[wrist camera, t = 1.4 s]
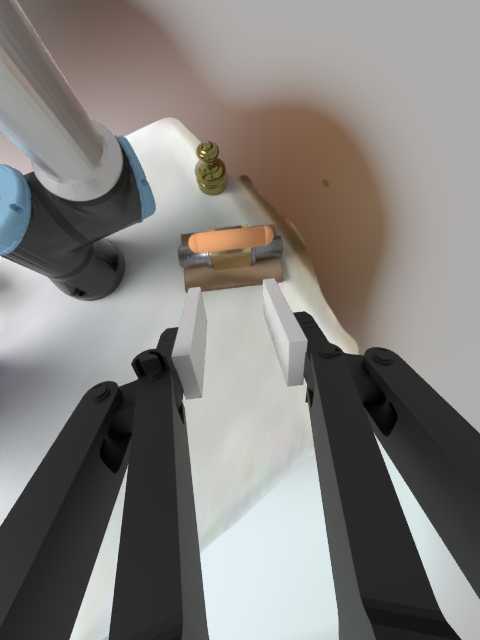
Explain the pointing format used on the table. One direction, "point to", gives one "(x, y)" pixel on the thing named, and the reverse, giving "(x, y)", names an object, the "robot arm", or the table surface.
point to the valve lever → (230, 238)
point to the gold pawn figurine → (210, 169)
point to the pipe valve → (231, 265)
